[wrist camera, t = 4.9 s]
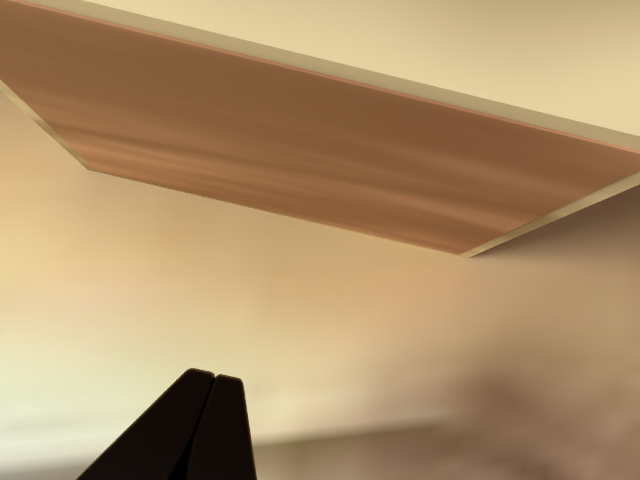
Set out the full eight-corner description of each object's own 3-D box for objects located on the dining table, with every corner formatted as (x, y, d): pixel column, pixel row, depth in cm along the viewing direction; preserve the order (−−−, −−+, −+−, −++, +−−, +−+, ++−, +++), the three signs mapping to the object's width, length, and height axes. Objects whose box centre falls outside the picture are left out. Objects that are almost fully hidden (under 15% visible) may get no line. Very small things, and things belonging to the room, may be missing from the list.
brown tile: (466, 259, 18) (711, 156, 8) (87, 171, 17) (-166, -57, 7) (479, 183, 18) (725, -5, 8) (111, 95, 18) (-96, -215, 8)
